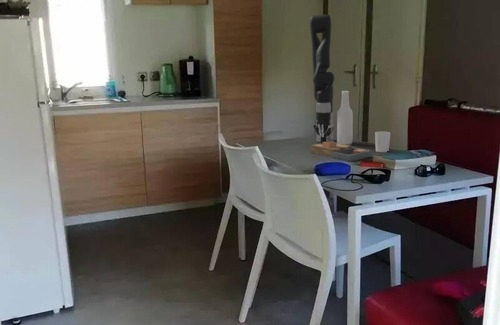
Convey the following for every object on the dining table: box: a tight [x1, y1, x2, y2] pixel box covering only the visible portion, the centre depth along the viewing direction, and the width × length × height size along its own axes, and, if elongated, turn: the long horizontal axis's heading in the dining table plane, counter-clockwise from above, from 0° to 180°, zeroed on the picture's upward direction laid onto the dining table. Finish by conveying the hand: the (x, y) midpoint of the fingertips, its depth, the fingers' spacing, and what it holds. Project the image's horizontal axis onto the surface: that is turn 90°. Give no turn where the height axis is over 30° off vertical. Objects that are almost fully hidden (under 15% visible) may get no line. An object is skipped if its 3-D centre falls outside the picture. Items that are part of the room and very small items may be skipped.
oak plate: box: [310, 142, 353, 158], centre depth 272 cm, size 14×16×4 cm
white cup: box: [374, 130, 391, 153], centre depth 272 cm, size 8×8×10 cm
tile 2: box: [353, 148, 368, 154], centre depth 263 cm, size 5×5×2 cm
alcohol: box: [336, 90, 354, 146], centre depth 293 cm, size 9×9×30 cm
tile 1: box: [323, 141, 337, 148], centre depth 269 cm, size 5×5×2 cm
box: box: [331, 147, 372, 162], centre depth 262 cm, size 16×12×3 cm
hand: (323, 143), depth 272 cm, fingers closed
